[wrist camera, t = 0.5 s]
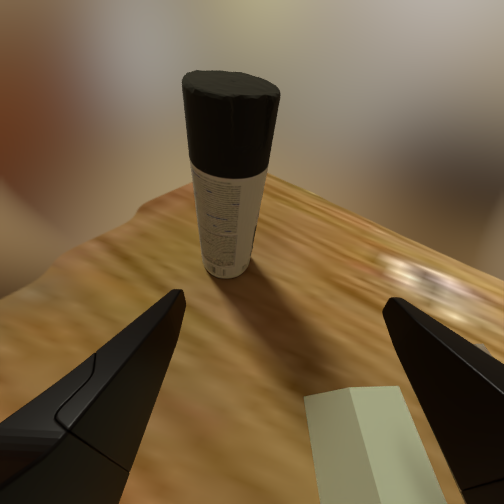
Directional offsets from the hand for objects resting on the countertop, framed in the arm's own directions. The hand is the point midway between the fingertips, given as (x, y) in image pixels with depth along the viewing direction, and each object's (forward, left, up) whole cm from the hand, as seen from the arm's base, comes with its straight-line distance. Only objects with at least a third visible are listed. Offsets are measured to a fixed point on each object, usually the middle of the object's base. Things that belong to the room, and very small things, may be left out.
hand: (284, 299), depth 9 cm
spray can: (+13, +3, -16) cm, 21 cm away
